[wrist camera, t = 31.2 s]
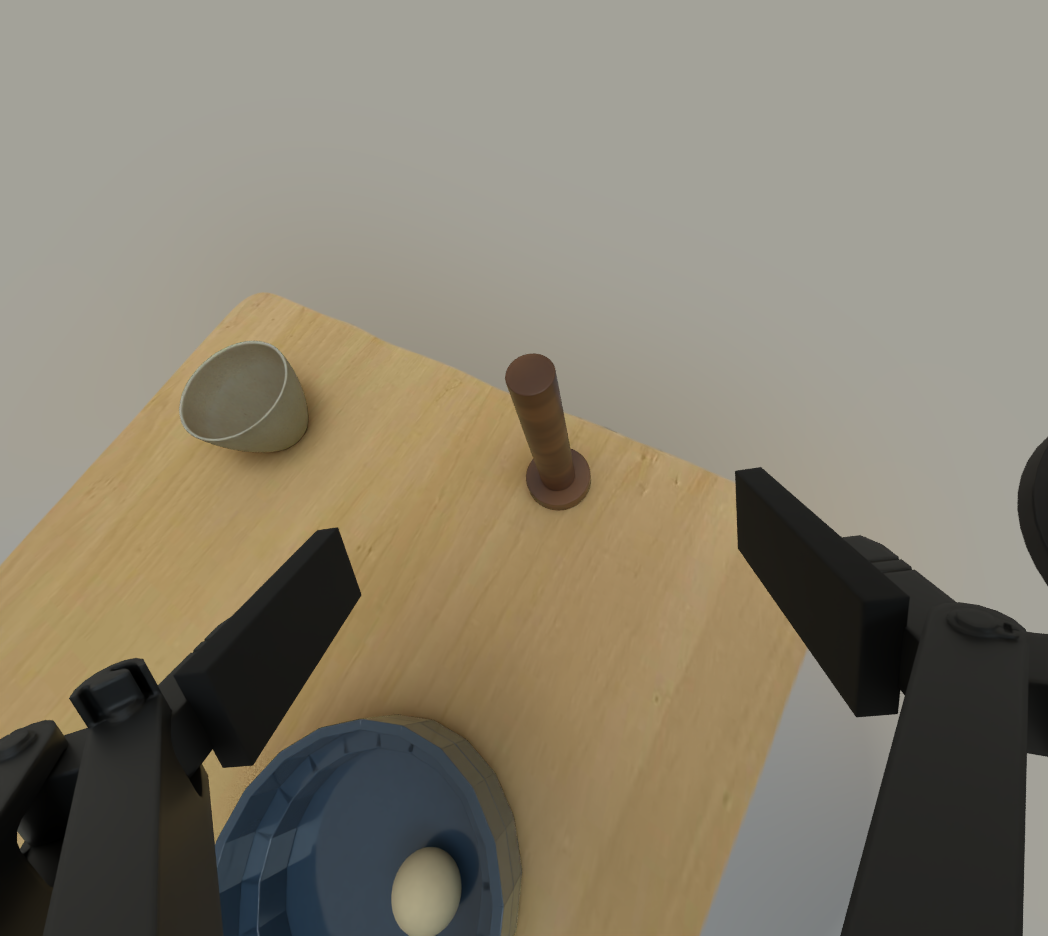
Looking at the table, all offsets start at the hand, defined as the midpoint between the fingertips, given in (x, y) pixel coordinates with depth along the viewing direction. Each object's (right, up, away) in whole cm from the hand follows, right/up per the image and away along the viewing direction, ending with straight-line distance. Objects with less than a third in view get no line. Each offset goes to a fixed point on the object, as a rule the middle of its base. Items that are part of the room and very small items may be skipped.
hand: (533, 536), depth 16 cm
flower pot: (-24, +6, +32) cm, 40 cm away
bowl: (-9, -23, +15) cm, 29 cm away
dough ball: (-6, -22, +12) cm, 26 cm away
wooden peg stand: (+3, +1, +24) cm, 24 cm away
